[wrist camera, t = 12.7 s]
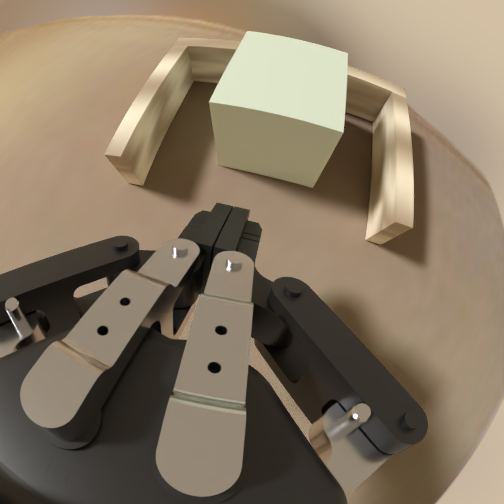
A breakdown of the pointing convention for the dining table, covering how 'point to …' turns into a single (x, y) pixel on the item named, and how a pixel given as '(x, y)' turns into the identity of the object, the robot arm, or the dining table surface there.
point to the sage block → (280, 107)
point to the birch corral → (357, 103)
